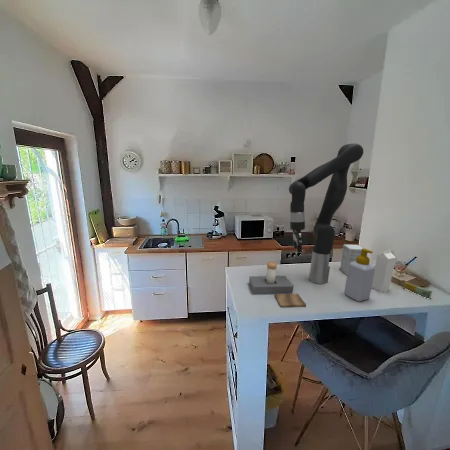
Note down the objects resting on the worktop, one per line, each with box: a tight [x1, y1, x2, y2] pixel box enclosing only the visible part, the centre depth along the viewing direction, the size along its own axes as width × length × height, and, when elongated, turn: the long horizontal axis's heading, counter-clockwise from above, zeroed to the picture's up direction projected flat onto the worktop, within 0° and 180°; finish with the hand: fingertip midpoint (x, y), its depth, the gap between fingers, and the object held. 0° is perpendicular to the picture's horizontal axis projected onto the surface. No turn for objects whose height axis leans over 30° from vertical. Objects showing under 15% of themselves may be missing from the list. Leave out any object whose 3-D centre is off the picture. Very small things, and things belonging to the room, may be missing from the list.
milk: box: [371, 249, 397, 293], centre depth 131 cm, size 6×6×22 cm
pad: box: [273, 293, 307, 308], centre depth 119 cm, size 12×10×1 cm
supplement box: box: [339, 243, 363, 276], centre depth 152 cm, size 10×9×17 cm
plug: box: [266, 261, 278, 284], centre depth 129 cm, size 5×5×14 cm
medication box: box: [403, 281, 433, 299], centre depth 130 cm, size 12×3×4 cm, turn 29°
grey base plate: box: [248, 275, 294, 295], centre depth 130 cm, size 20×12×4 cm, turn 96°
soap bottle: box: [343, 247, 375, 302], centre depth 122 cm, size 9×9×25 cm
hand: (297, 250), depth 134 cm, fingers open, 8 cm apart
